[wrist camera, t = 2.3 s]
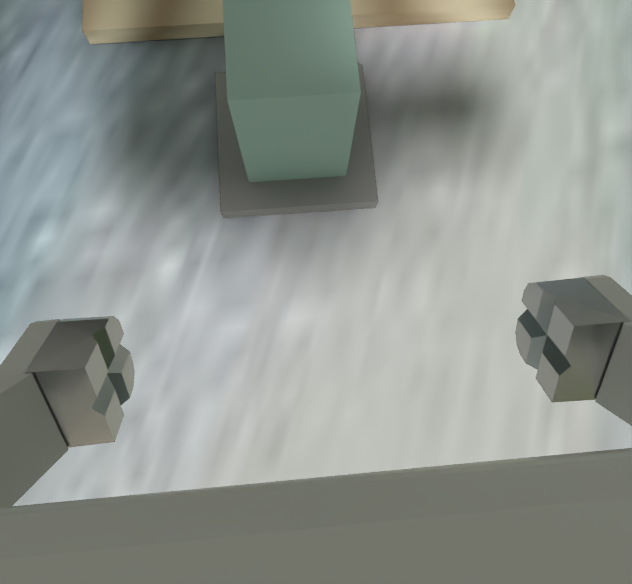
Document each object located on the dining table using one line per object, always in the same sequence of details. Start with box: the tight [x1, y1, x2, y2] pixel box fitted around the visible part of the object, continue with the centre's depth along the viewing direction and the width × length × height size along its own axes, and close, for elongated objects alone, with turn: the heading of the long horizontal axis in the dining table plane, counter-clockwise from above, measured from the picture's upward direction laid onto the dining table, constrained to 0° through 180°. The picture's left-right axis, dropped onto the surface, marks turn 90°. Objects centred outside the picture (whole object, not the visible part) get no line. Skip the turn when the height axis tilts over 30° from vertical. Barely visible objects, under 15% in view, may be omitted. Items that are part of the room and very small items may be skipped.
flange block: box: [215, 0, 378, 218], centre depth 23 cm, size 8×8×8 cm
